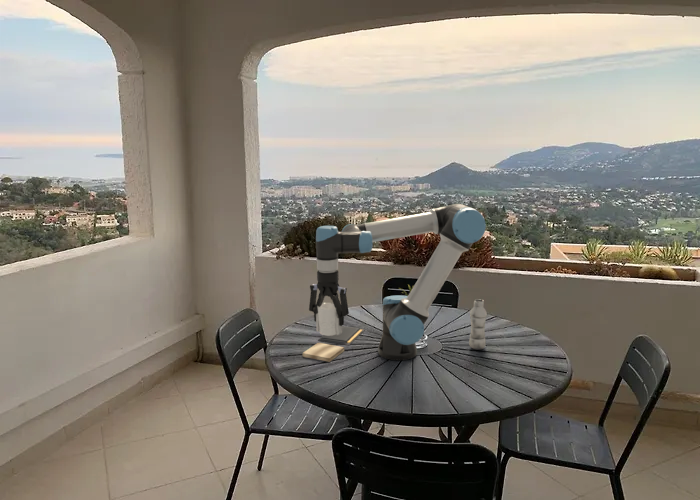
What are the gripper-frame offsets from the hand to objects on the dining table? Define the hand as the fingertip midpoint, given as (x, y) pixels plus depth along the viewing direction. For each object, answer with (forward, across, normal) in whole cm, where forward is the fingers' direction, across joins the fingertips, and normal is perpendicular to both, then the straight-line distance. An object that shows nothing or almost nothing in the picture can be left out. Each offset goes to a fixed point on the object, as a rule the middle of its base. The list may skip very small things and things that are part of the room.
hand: (329, 331), depth 192 cm
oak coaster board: (+15, +10, -13) cm, 22 cm away
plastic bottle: (+15, -43, -44) cm, 63 cm away
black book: (+16, +13, -34) cm, 40 cm away
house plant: (+15, -6, -67) cm, 69 cm away
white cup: (0, 0, 0) cm, 0 cm away
